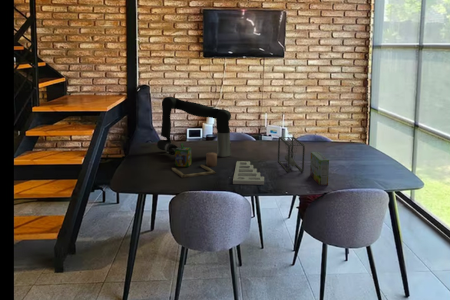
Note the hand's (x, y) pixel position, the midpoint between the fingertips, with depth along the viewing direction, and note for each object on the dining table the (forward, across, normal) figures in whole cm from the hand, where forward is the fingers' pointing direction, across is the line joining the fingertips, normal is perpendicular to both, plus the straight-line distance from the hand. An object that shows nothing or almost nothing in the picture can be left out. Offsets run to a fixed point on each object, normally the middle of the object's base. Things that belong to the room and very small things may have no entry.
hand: (179, 153), depth 303 cm
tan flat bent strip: (+26, 0, +6) cm, 27 cm away
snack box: (+74, +61, +6) cm, 96 cm away
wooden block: (+16, +17, +6) cm, 24 cm away
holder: (+45, +30, +7) cm, 54 cm away
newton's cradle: (+41, +63, +6) cm, 75 cm away
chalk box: (+8, 0, +6) cm, 10 cm away
